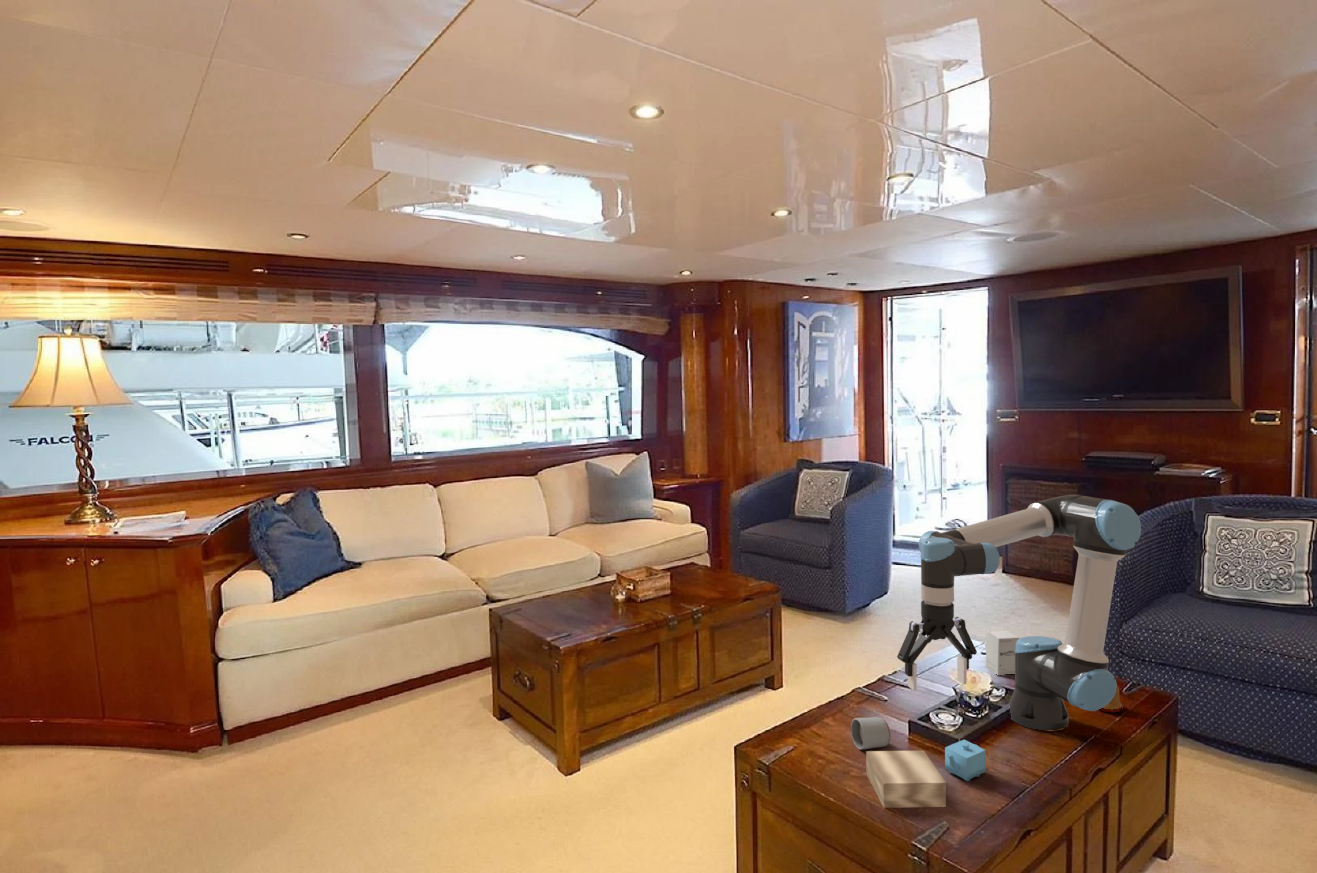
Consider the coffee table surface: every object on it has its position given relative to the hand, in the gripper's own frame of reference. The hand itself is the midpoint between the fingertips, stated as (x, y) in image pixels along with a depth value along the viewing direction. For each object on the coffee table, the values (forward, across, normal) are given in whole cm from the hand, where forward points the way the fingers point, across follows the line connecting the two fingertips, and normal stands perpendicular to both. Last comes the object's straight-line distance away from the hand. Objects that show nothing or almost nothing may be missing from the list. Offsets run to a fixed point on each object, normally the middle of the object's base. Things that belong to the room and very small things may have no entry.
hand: (937, 685), depth 174 cm
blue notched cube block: (+21, -4, +5) cm, 22 cm away
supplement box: (+21, -53, -46) cm, 74 cm away
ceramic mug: (+21, +11, -14) cm, 28 cm away
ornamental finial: (+21, -65, -16) cm, 70 cm away
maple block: (+21, +13, +7) cm, 26 cm away
